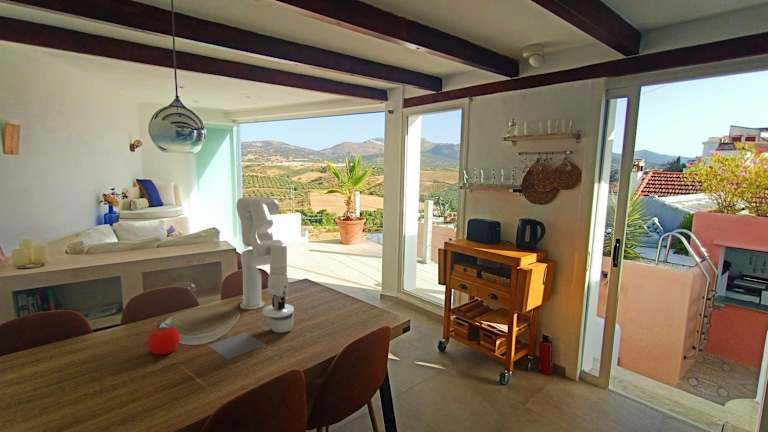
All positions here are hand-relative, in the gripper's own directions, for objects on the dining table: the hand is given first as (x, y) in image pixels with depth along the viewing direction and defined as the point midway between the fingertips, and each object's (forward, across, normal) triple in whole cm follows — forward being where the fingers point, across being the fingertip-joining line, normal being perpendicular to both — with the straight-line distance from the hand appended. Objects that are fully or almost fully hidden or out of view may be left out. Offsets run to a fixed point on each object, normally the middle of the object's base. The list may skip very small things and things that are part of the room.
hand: (278, 307), depth 171 cm
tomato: (+11, -17, -43) cm, 48 cm away
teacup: (+11, 0, 0) cm, 11 cm away
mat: (+11, 0, -21) cm, 24 cm away
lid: (+2, 0, 0) cm, 2 cm away
